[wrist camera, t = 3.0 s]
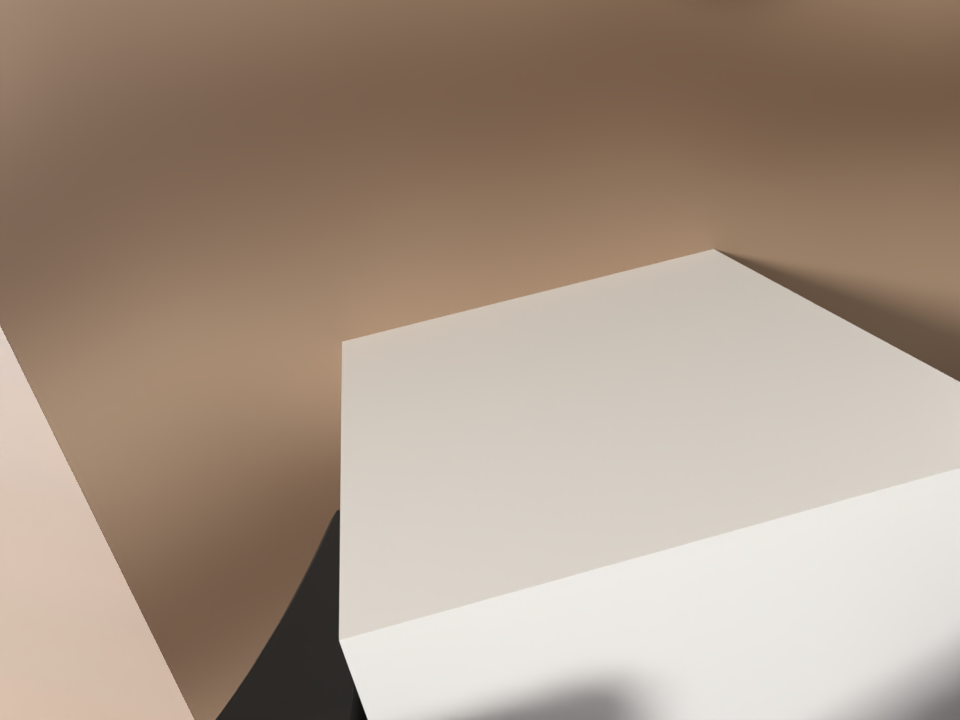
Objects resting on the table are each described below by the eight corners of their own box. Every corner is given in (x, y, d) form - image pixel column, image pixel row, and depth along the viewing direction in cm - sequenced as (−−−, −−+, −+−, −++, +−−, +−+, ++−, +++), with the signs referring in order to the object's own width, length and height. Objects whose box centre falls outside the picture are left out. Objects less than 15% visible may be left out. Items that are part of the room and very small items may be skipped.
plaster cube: (737, 550, 13) (1007, 893, 8) (430, 636, 13) (492, 1060, 8) (713, 249, 11) (1065, 438, 6) (342, 341, 11) (339, 639, 5)
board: (898, 538, 16) (950, 583, 15) (240, 724, 15) (230, 792, 14) (939, -981, 8) (1060, -1192, 7) (-461, -799, 7) (-654, -1004, 6)
